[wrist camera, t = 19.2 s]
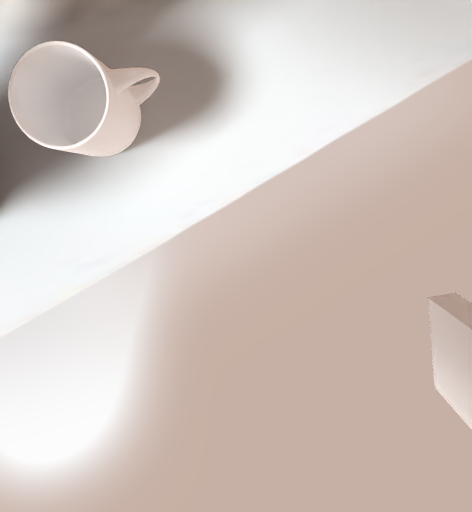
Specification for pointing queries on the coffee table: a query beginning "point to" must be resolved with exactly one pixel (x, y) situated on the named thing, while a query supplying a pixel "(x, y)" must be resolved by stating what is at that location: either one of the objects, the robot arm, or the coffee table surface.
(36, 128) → the mug
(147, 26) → the coffee table surface
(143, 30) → the coffee table surface
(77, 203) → the coffee table surface
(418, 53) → the coffee table surface
